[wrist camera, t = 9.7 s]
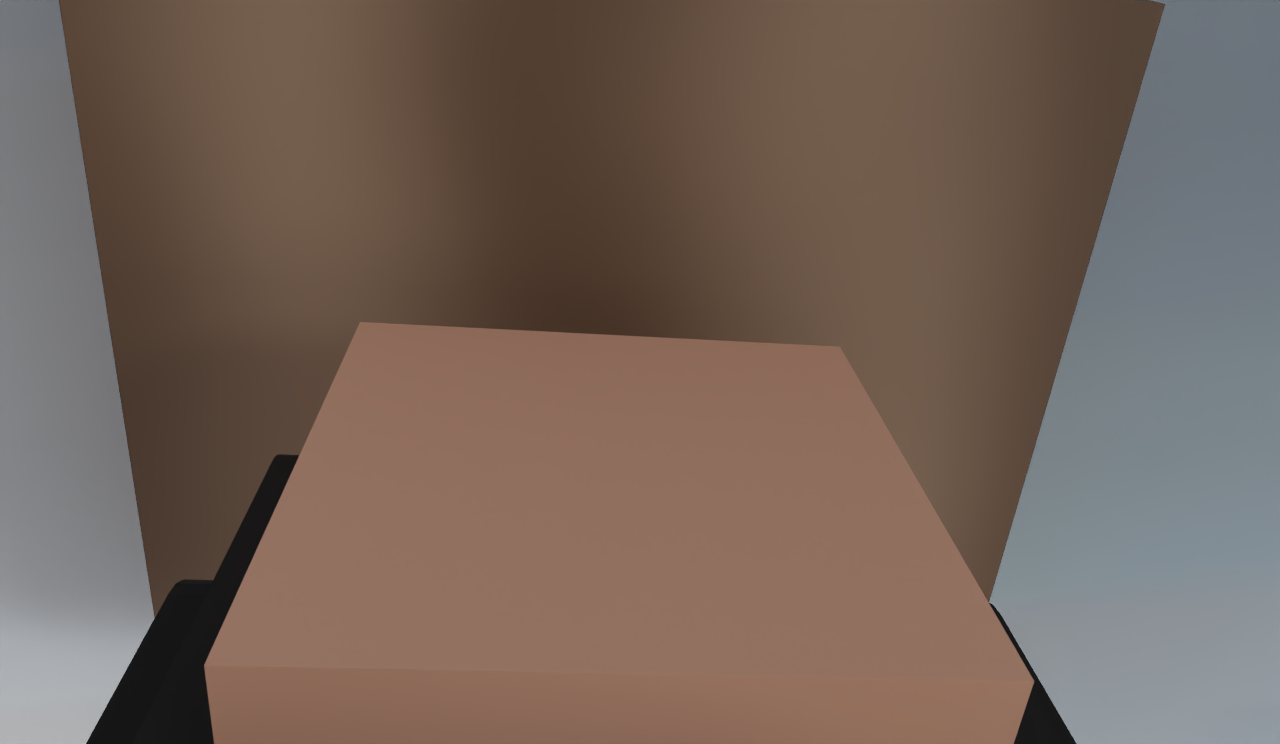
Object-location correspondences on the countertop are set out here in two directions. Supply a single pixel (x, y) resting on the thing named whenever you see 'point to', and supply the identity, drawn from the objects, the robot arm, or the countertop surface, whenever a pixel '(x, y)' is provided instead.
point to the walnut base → (593, 208)
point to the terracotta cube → (606, 557)
